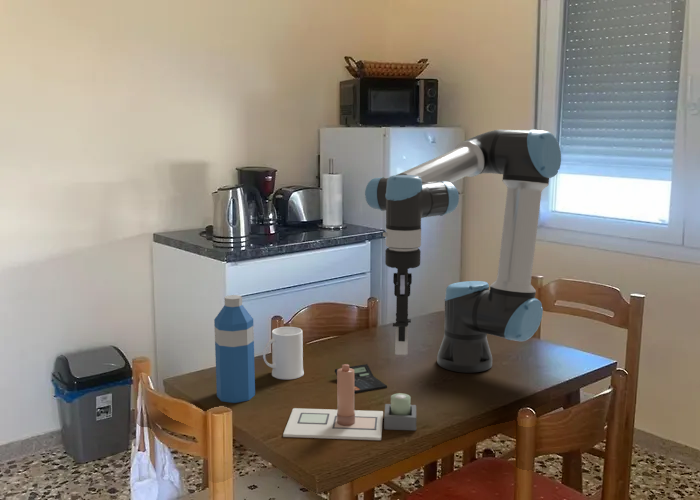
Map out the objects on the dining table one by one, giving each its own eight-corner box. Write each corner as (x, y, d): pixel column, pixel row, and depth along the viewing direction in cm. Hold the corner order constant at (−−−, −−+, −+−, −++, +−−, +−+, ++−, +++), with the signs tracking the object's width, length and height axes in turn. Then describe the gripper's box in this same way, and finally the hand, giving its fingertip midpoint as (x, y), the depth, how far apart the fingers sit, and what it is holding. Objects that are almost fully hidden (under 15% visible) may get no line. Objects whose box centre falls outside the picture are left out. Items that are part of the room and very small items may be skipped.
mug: (270, 384, 184) (269, 339, 181) (255, 374, 191) (254, 331, 188) (309, 375, 190) (309, 332, 188) (294, 366, 197) (293, 324, 195)
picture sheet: (383, 413, 166) (383, 410, 166) (381, 440, 152) (381, 437, 152) (293, 410, 167) (293, 407, 167) (283, 436, 154) (283, 433, 153)
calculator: (353, 394, 178) (353, 383, 177) (334, 379, 188) (334, 368, 188) (386, 388, 182) (387, 377, 181) (366, 374, 192) (366, 363, 192)
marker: (355, 418, 161) (355, 362, 159) (354, 426, 157) (354, 368, 155) (337, 418, 161) (337, 362, 159) (336, 425, 158) (335, 368, 155)
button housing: (415, 417, 164) (416, 404, 163) (416, 430, 157) (416, 417, 156) (385, 416, 164) (385, 403, 164) (384, 429, 157) (384, 416, 157)
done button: (410, 410, 162) (410, 393, 161) (410, 418, 158) (410, 400, 157) (390, 409, 162) (391, 392, 162) (390, 417, 158) (390, 400, 157)
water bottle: (218, 389, 181) (215, 292, 176) (255, 388, 181) (253, 292, 177) (214, 403, 171) (211, 302, 167) (254, 402, 172) (251, 301, 168)
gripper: (386, 242, 160) (385, 343, 165) (384, 253, 147) (383, 363, 151) (420, 242, 160) (418, 344, 164) (421, 254, 146) (419, 364, 151)
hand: (401, 353), depth 158 cm, fingers closed
